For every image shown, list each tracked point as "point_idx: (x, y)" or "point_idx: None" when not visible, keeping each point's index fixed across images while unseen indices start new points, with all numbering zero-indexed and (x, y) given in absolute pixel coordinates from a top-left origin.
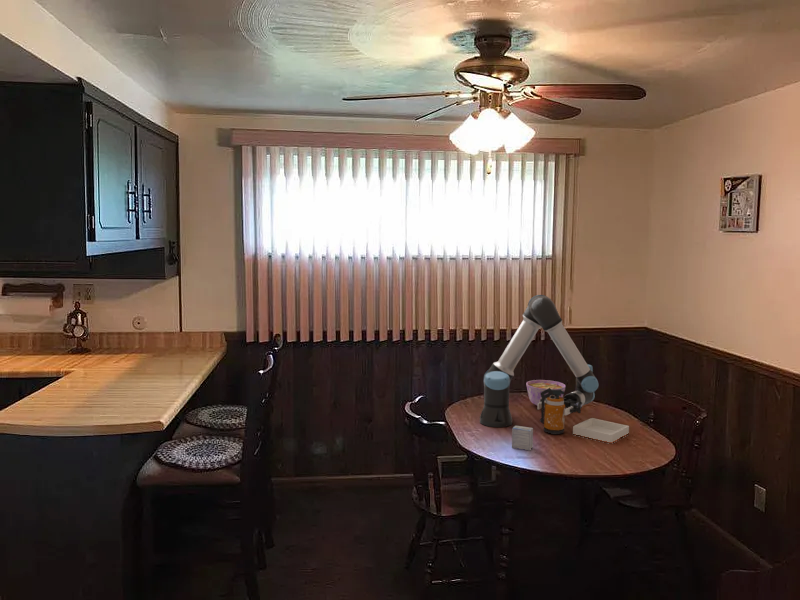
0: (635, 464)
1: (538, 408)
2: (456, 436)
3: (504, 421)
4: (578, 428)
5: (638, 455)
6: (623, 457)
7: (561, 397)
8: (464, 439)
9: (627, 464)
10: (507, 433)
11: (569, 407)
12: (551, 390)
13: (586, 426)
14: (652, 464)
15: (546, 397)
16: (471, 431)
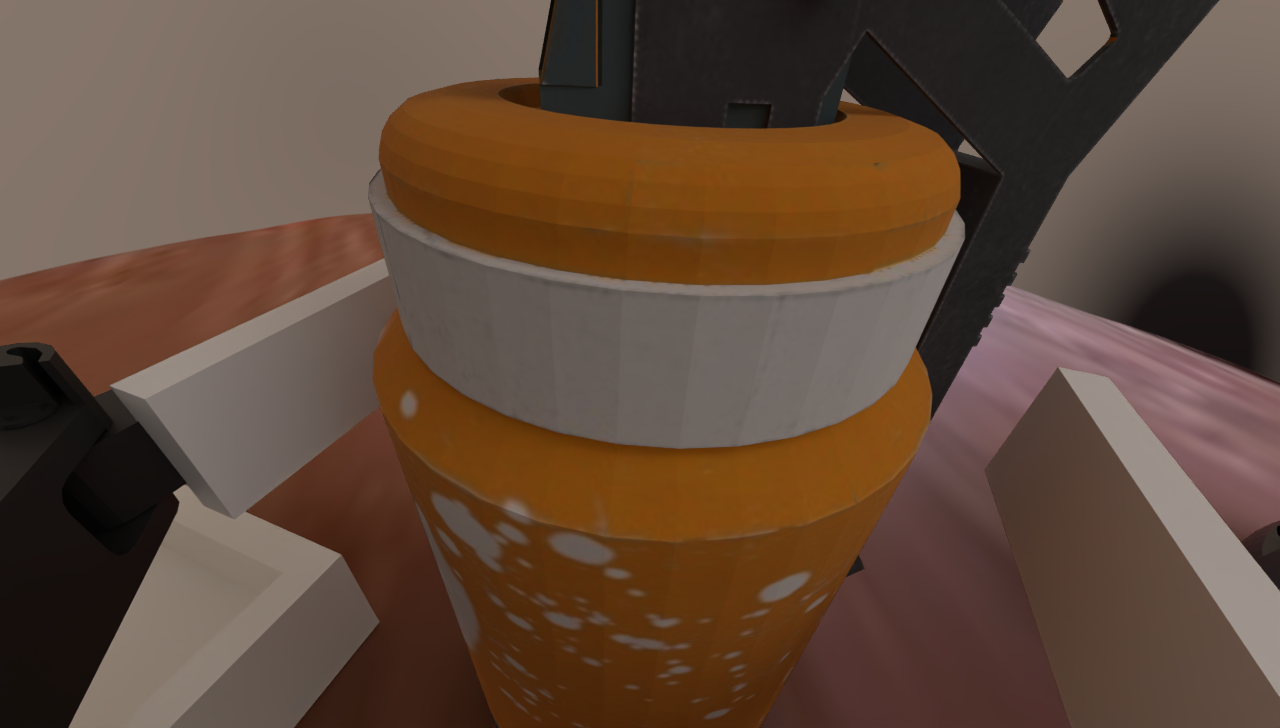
0: (190, 259)
1: (1000, 458)
2: (1126, 327)
3: (1263, 562)
4: (281, 535)
5: (30, 332)
6: (189, 298)
7: (444, 97)
8: (1048, 309)
9: (238, 254)
10: (984, 441)
11: (298, 312)
12: None
13: None
14: (77, 269)
15: (876, 93)
16: (1195, 405)
